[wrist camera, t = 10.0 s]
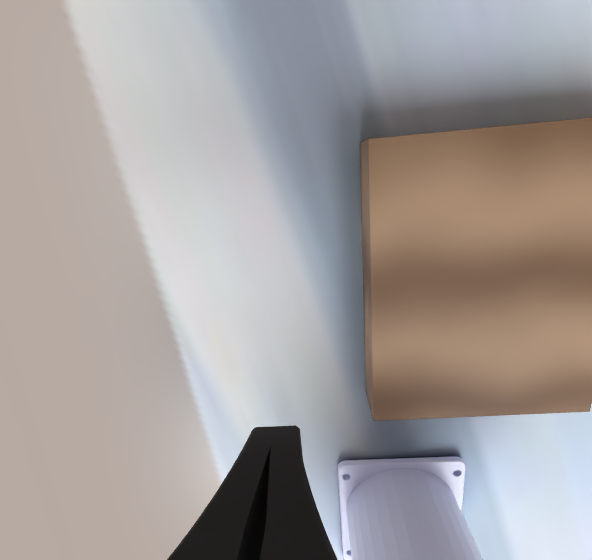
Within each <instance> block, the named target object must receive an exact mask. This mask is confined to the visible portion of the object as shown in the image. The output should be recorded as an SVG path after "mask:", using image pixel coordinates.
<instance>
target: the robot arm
mask: <svg viewBox="0 0 592 560" xmlns="http://www.w3.org/2000/svg"><path fill="white" fill-rule="evenodd" d="M465 467H466V466H465V463H464V461H463V459H462V458H460V457H456V456H455V457H427V458H400V459H372V460H345V461H341V462H340V463H339V464H338V481H339V497H340V514H341V530H342V546H343V560H483V559H482V557H481V555H480V552H479V550H478V548H477V546H476V543H475V541H474V539H473V537H472V534H471V532H470V530H469V528H468V525H467V523H466V521H465V519H464V516H463V514H462V501H463V490H464V478H465ZM456 470H457V471H456ZM344 474H348V475H344ZM167 560H337V558H336V555H335V553H334V551H333V548H332V546H331V544H330V541H329V539H328V536H327V534H326V531H325V529H324V526H323V523H322V521H321V518H320V515H319V512H318V510H317V507H316V504H315V501H314V498H313V495H312V492H311V488H310V485H309V482H308V478H307V475H306V471H305V467H304V463H303V456H302V447H301V437H300V429H299V428H298V427H297V426H276V427H255V428H254V429H253V430H252V432H251V434H250V436H249V438H248V440H247V442H246V444H245V445H244V447H243V449H242V451H241V453H240V454H239V456H238V458H237V460H236V461H235V463H234V465H233V467H232V468H231V470H230V471H229V473H228V475H227V476H226V478H225V479H224V481H223V483H222V484H221V486H220V488H219V489H218V491H217V492H216V494H215V495H214V497H213V498H212V500H211V501H210V503H209V504H208V506H207V507H206V508H205V510H204V512H203V513H202V514H201V516H200V517H199V519H198V520H197V521H196V523H195V524H194V526H193V527H192V528H191V530H190V531H189V532H188V534H187V535H186V536H185V538H184V539H183V540H182V541H181V543H180V544H179V545H178V547H177V548H176V549H175V550H174V552H173V553H172V554H171V555H170V557H169V558H168V559H167Z"/></svg>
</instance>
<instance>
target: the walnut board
mask: <svg viewBox="0 0 592 560" xmlns="http://www.w3.org/2000/svg"><path fill="white" fill-rule="evenodd" d="M360 171H361V211H362V250H363V289H364V328H365V368H366V393H367V397H368V401H369V405H370V409H371V412H372V416H373V420H374V421H381V420H405V419H428V418H451V417H474V416H497V415H520V414H543V413H566V412H590V408H591V403H592V118H582V119H572V120H561V121H551V122H540V123H530V124H519V125H509V126H498V127H488V128H477V129H467V130H456V131H446V132H435V133H425V134H414V135H404V136H393V137H383V138H372V139H367V140H366V141H364V142H362V143H360Z"/></svg>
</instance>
